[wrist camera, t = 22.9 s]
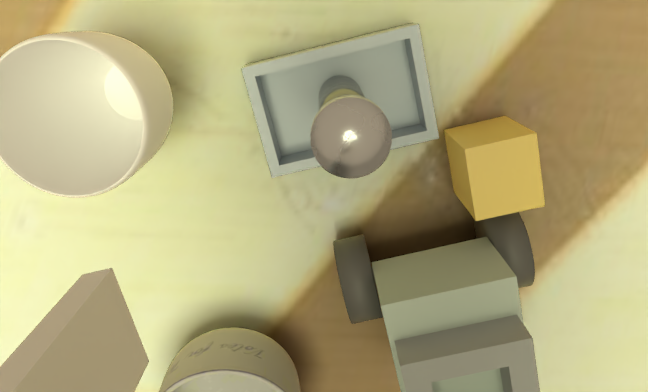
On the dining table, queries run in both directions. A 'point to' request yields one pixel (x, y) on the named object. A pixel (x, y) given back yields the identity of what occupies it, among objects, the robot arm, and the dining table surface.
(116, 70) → the mug
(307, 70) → the tray
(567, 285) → the dining table surface
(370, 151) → the flashlight
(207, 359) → the teacup
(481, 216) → the block
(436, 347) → the trolley
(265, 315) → the dining table surface
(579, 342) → the dining table surface
